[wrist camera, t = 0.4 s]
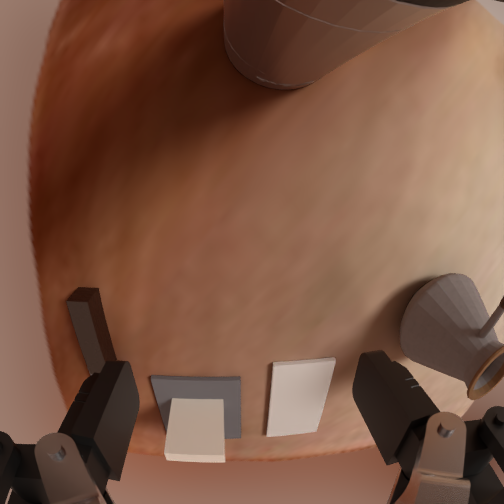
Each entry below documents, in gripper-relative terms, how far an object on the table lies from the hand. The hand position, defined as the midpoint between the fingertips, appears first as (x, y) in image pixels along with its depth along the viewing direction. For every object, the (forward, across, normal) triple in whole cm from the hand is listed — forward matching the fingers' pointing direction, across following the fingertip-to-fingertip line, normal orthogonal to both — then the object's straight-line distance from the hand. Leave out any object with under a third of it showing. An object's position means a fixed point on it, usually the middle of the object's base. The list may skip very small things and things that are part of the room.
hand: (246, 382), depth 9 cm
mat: (+18, +5, +21) cm, 28 cm away
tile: (+18, +5, +19) cm, 26 cm away
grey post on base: (+18, +15, +10) cm, 25 cm away
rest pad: (+18, -7, +20) cm, 28 cm away
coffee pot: (+18, -22, +3) cm, 28 cm away
